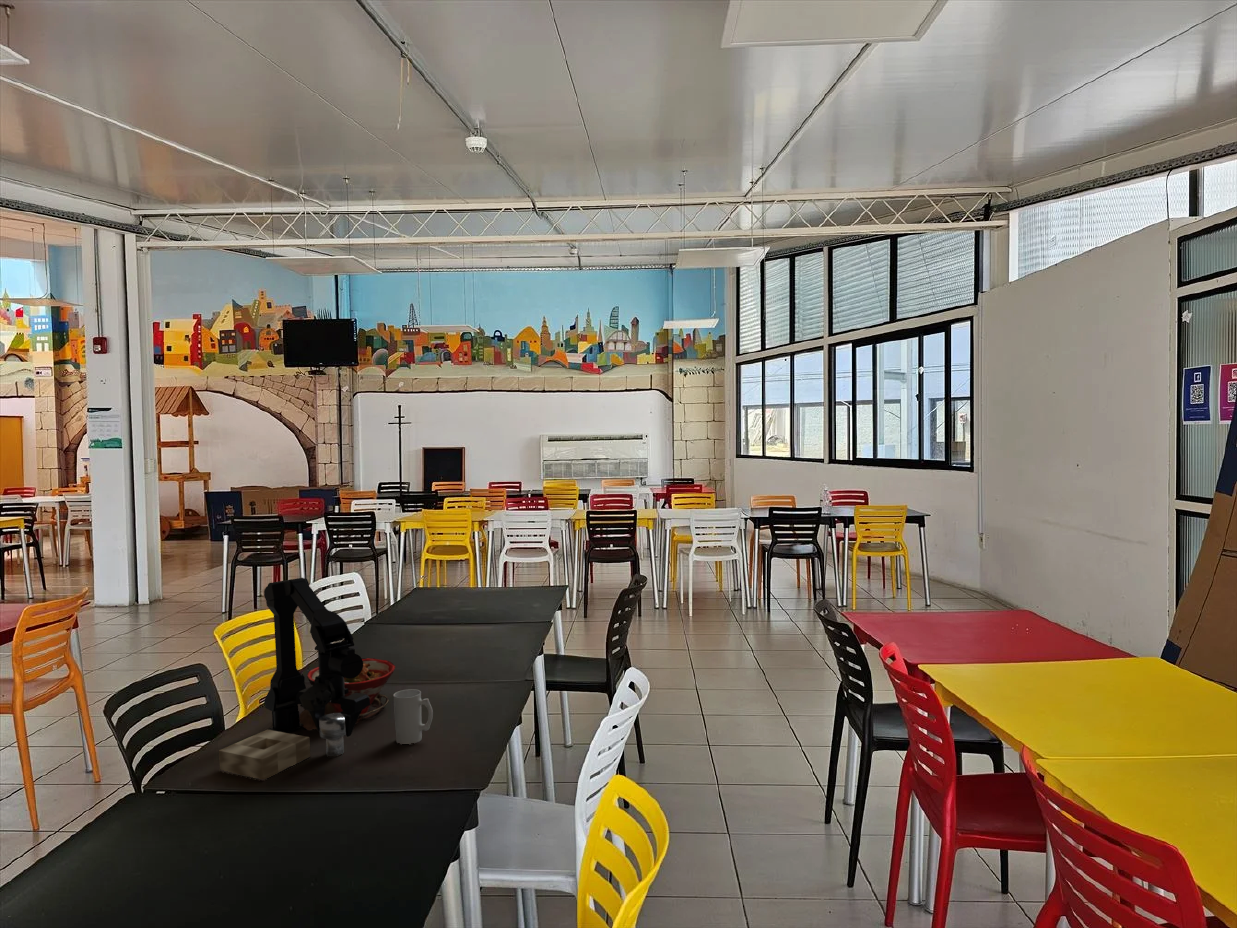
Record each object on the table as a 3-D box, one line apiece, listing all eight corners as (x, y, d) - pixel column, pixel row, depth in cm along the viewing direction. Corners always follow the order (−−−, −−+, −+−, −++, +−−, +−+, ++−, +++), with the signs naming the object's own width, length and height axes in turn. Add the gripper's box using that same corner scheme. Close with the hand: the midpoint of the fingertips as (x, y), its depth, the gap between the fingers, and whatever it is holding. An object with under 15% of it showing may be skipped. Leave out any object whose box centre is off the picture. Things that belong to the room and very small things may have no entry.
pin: (314, 756, 198) (313, 720, 198) (334, 746, 204) (333, 711, 204) (335, 761, 195) (333, 723, 195) (355, 750, 201) (353, 714, 201)
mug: (390, 744, 205) (388, 697, 204) (402, 734, 211) (400, 688, 211) (427, 746, 203) (426, 698, 202) (439, 736, 209) (437, 690, 209)
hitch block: (219, 771, 191) (218, 750, 191) (268, 749, 204) (267, 729, 204) (263, 781, 185) (262, 759, 185) (310, 757, 198) (309, 737, 198)
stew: (364, 734, 212) (362, 673, 211) (280, 730, 217) (277, 670, 216) (411, 698, 240) (409, 644, 239) (336, 695, 244) (333, 642, 243)
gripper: (276, 675, 195) (279, 740, 196) (336, 684, 188) (339, 751, 188) (312, 663, 206) (315, 724, 206) (370, 670, 198) (372, 734, 198)
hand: (334, 733), depth 200 cm, fingers open, 9 cm apart
